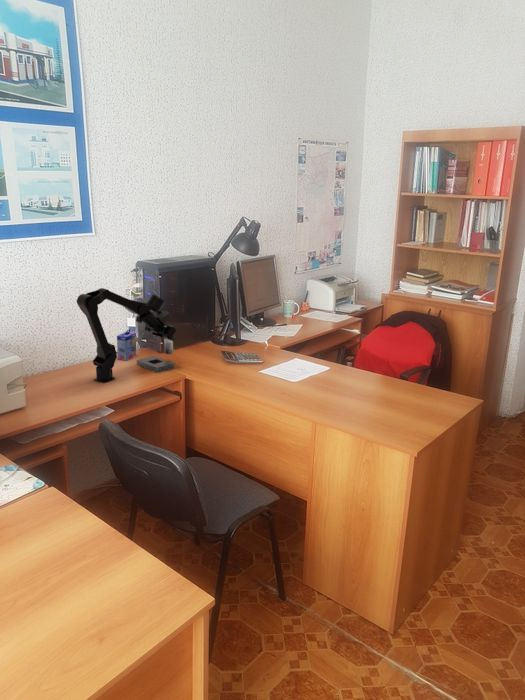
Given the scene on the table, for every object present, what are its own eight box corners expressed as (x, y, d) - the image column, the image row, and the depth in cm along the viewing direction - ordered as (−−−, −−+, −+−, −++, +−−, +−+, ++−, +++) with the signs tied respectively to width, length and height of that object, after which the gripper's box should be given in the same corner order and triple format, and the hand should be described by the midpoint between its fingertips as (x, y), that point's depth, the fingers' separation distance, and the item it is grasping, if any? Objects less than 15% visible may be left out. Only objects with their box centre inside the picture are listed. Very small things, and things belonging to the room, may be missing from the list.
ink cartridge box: (127, 360, 271) (125, 332, 267) (117, 359, 273) (115, 331, 269) (137, 355, 280) (135, 327, 276) (127, 354, 282) (126, 326, 278)
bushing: (169, 354, 265) (168, 328, 261) (162, 353, 267) (162, 327, 263) (174, 352, 269) (174, 326, 265) (168, 351, 270) (167, 325, 267)
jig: (156, 372, 255) (156, 367, 254) (136, 364, 265) (136, 359, 265) (174, 368, 262) (174, 363, 261) (154, 360, 272) (154, 355, 272)
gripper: (172, 309, 252) (192, 329, 263) (149, 303, 265) (168, 322, 275) (159, 329, 249) (179, 348, 260) (135, 322, 261) (155, 340, 272)
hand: (170, 339), depth 267 cm, fingers closed on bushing, 4 cm apart
